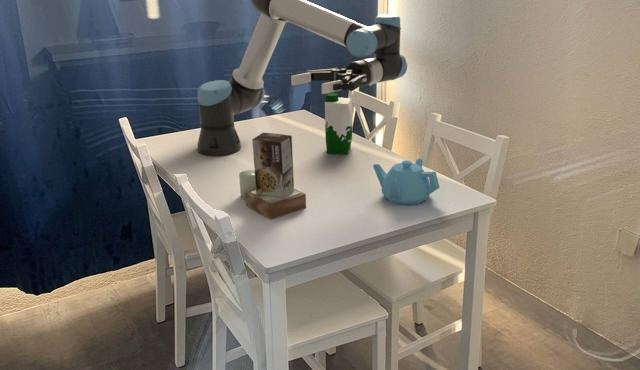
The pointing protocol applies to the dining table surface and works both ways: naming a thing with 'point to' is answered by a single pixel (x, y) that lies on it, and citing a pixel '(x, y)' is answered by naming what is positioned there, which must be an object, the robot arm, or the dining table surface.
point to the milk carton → (338, 124)
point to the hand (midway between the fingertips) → (306, 84)
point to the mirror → (275, 203)
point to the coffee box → (273, 164)
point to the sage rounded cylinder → (247, 182)
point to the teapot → (406, 182)
